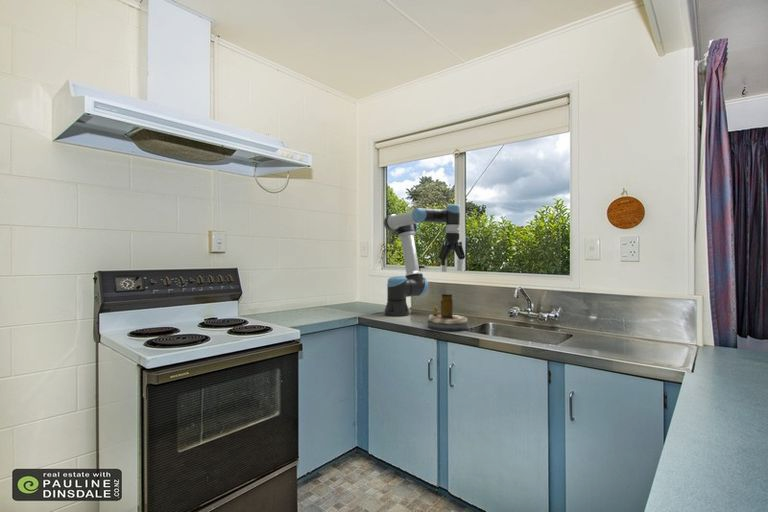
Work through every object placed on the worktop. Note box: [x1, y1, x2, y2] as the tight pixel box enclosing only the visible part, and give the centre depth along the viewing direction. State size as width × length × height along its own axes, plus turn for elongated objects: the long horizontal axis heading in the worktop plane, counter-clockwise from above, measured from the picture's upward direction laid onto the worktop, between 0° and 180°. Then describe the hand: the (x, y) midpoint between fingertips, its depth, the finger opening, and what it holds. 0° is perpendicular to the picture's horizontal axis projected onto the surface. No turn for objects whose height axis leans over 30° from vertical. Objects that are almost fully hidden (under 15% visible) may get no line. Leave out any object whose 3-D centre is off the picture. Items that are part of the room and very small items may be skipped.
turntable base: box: [427, 314, 469, 332], centre depth 205 cm, size 21×21×5 cm
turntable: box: [428, 305, 469, 324], centre depth 205 cm, size 20×20×6 cm
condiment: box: [440, 293, 457, 318], centre depth 205 cm, size 7×8×12 cm
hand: (452, 271), depth 218 cm, fingers open, 13 cm apart
